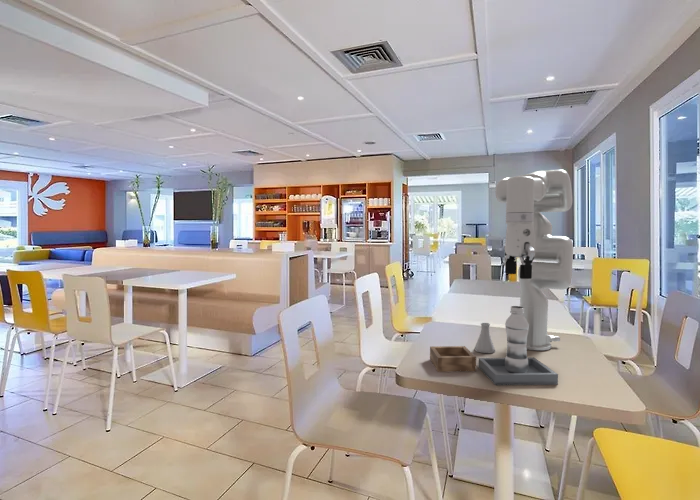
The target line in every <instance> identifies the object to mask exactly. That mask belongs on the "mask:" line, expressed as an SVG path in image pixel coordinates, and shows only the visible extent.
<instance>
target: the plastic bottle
mask: <svg viewBox="0 0 700 500" xmlns="http://www.w3.org/2000/svg"><path fill="white" fill-rule="evenodd" d="M509 312H510V315H509V316H508V318H507V319H506V320H505V324H504V325H505V331H506V332H505V333H506V353H505V354H506V355H505V357H504V358H505V367H506V369H507V370H508V371H509V372H512V373H526V372H527V371H528V367H529V364H528V358H527V357H528V351H527V350H528V349H527V348H526V345H527V344H526V343H527V334H528V329H529V324H528V322H527V320H526V319H525V317H524V316H523V314H524V307H521V306H520V305H519V306H518V305H513V306H512V305H511V306H510V310H509Z"/></svg>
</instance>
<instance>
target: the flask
mask: <svg viewBox="0 0 700 500" xmlns="http://www.w3.org/2000/svg"><path fill="white" fill-rule="evenodd" d="M480 326H481V327H480V328H481V329H480V333H479V337H478V338H477V342H476V343H475V346H474V350H475V352H477V353H482V354H493V353H495V352H496V349H495V346H494V343H493V340H492V336H491V334H490V326H491V323H489V322H480Z"/></svg>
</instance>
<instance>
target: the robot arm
mask: <svg viewBox="0 0 700 500" xmlns="http://www.w3.org/2000/svg"><path fill="white" fill-rule="evenodd" d="M494 191H495V197H496V199H497V201H498V202H499V203H501V204H505V225H506V232H505V245H504V248H503V249H504V256H505V257H504V260H505V267H504V268H505V269H504V270H505V274H506V275H516V274H517V272H518V275H517V277H518V282H519V306H521V307H524V314H523V316H524V317H525V319H526V320H527V322H528V324H529V329H528V334H527V343H526V344H527V345H526V348H527V350H530V351H548V350H550V349H551V348H552V342H560V341H561V337H560V335H559V336H558V335H555V336H554V335H551V334H548V322H549V321H548V317H549V313H548V312H549V300H548V297H547V295H546V294H545V293H544V291H543V290H542V289H546V290H547V289H549V290H567V289H568V288H570V286H571V283H572V275H573V274H572V273H573V261H574V260H573V259H574V245H573V241H572V240H571V239H570V237H567V236H564V235H563V236H562V235H552V234H553V225H552V222H551V221H549V219H548V218H547V217H546V216H545V215H543V213H564V212H569V210H570V209H571V208H572V206H573V190H572V181H571V178H570V174H569V173H568V171H566V170H564V169H549V170H535V171H533V172H529V173H527V174H526V173H525V174H519V175H516V176H511V177H505V178H501V179H500V180H499V181H498V182H497V184H496V186H495V190H494ZM517 258H519V260H520V262H521V263H520V265H519V267H518V269H517V261H516V260H517ZM517 270H518V271H517Z"/></svg>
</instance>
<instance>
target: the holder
mask: <svg viewBox="0 0 700 500" xmlns="http://www.w3.org/2000/svg"><path fill="white" fill-rule="evenodd" d="M429 360H430V362H431V364H432V365H433V367H434V368H435V370H436V372H437V373H438V372H439V373H442V372H443V373H444V372H447V373H449V372H450V373H451V372H453V373H455V372H476V370H477V357H476V355H474V354H473V352H471V351H470V349H468V348H467V347H466V346H465V345H458V346H456V345H454V346H450V345H449V346H444V345H443V346H441V345H440V346H439V345H438V346H429Z"/></svg>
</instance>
